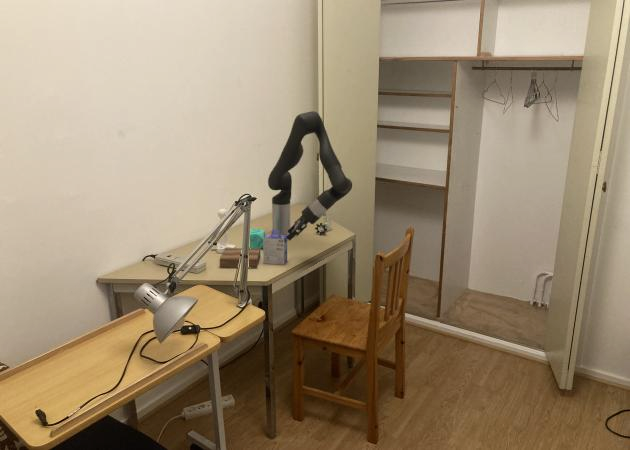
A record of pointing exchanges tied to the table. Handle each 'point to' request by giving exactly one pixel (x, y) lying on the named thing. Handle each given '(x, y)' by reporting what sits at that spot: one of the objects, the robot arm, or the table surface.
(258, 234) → the decorative dice
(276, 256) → the ink cartridge box
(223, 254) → the walnut stand
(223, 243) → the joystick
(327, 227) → the valve
